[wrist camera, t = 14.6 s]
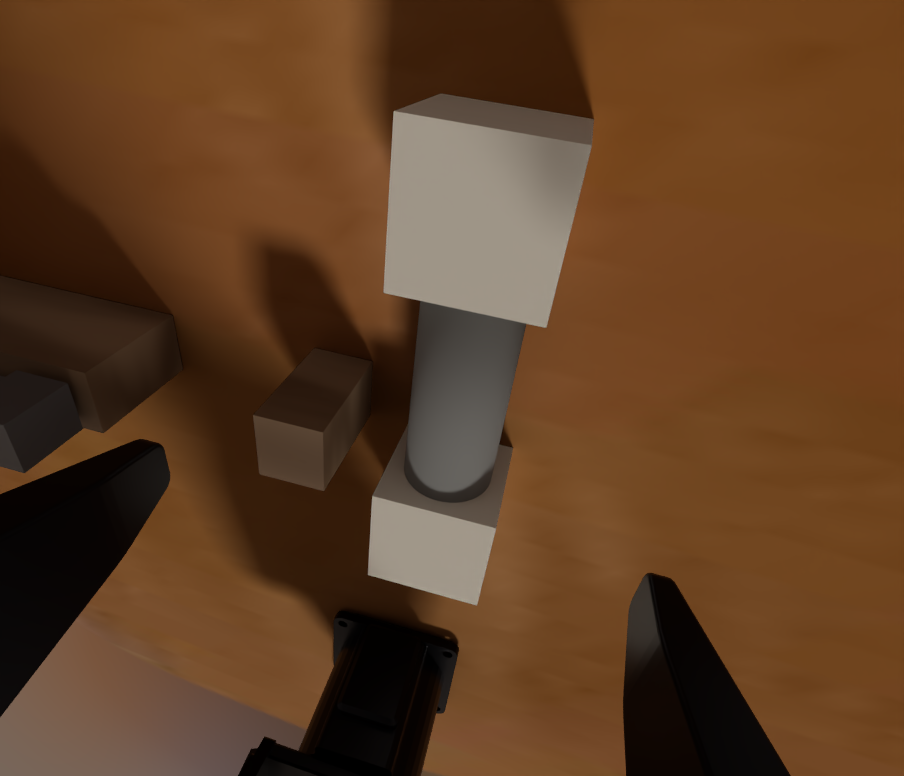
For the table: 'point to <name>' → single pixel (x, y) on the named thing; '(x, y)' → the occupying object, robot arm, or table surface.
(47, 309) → the dark brown block
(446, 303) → the square-ended dumbbell
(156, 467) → the robot arm
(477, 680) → the table surface
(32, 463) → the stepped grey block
